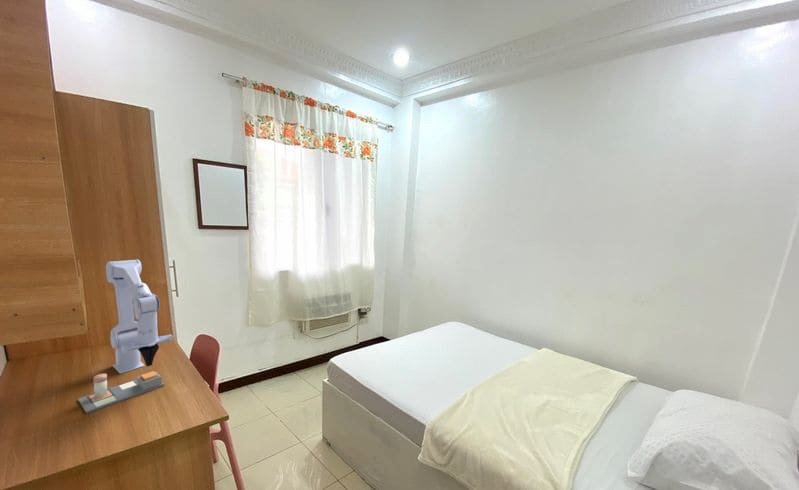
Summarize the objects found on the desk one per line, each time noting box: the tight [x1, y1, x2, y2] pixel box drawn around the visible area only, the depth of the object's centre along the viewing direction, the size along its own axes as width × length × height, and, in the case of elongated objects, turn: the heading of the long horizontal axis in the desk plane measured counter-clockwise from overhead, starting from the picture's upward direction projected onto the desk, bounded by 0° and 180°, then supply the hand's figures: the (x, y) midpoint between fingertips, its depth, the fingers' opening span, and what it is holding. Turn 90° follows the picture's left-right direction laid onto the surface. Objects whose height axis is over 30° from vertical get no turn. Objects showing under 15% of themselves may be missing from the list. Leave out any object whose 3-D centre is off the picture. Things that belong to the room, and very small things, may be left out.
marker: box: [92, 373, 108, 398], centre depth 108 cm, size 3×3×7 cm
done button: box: [140, 370, 157, 381], centre depth 116 cm, size 4×4×2 cm
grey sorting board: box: [77, 371, 165, 414], centre depth 112 cm, size 11×21×4 cm, turn 145°
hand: (148, 365), depth 115 cm, fingers closed
